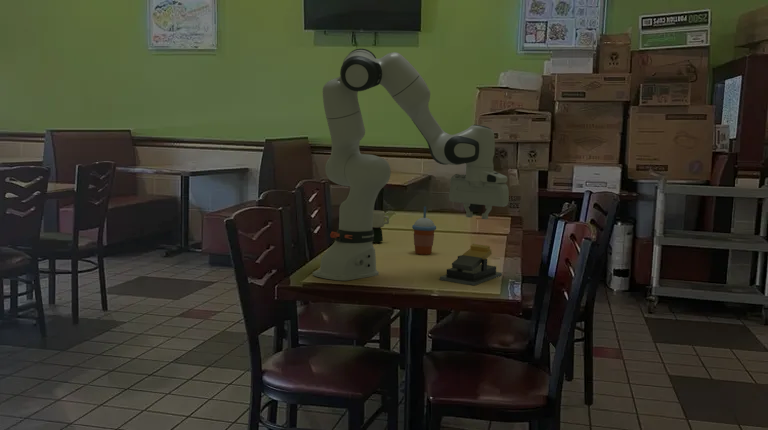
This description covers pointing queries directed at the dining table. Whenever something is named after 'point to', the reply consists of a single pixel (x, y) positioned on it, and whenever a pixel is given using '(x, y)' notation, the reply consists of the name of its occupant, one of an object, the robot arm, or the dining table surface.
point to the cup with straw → (423, 235)
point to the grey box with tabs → (472, 274)
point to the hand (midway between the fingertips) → (476, 218)
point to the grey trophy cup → (378, 224)
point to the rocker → (472, 257)
